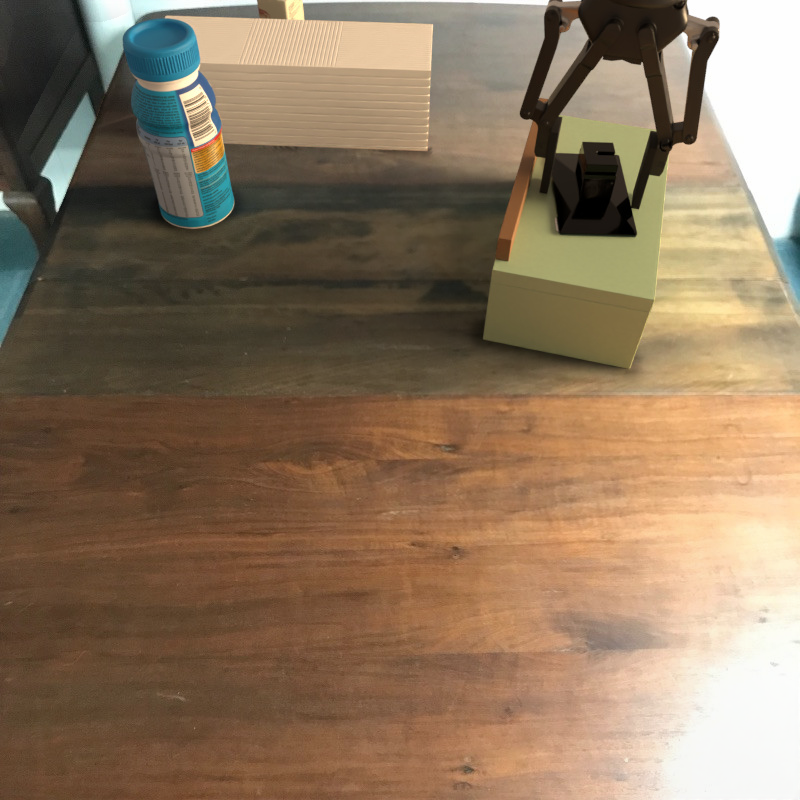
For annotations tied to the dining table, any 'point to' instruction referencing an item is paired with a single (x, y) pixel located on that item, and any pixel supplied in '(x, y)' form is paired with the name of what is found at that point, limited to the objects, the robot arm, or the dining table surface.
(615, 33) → the robot arm
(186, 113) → the beverage bottle
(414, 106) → the beige ridged block
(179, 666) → the dining table surface
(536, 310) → the olive green box
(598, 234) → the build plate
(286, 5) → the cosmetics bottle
